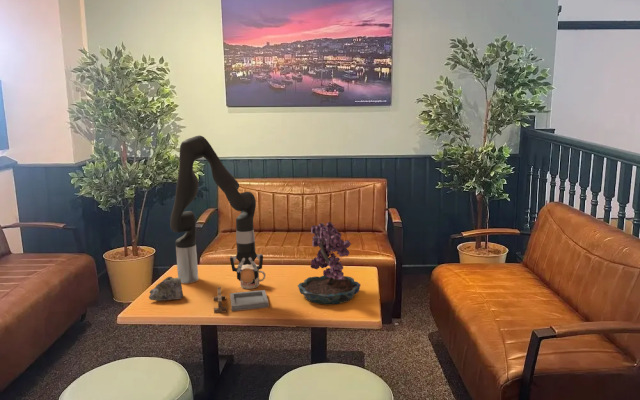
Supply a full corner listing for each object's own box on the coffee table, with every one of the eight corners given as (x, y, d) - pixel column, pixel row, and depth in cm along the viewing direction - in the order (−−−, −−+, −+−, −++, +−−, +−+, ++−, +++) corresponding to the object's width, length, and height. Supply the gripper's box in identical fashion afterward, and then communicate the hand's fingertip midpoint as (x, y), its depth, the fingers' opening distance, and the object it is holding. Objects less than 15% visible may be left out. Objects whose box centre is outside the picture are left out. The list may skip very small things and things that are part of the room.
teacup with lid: (237, 288, 246) (235, 264, 244) (243, 282, 255) (242, 258, 253) (263, 289, 244) (261, 264, 242) (268, 283, 253) (267, 258, 250)
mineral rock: (148, 303, 232) (146, 280, 230) (159, 294, 242) (157, 272, 240) (177, 304, 230) (175, 281, 228) (186, 294, 240) (185, 273, 238)
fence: (213, 298, 235) (213, 287, 234) (225, 297, 235) (224, 286, 234) (214, 313, 219) (213, 301, 218) (226, 311, 220) (226, 300, 219)
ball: (237, 282, 228) (236, 268, 227) (249, 278, 232) (249, 265, 231) (245, 285, 223) (244, 271, 222) (257, 282, 227) (257, 268, 226)
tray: (230, 297, 235) (230, 293, 235) (265, 294, 238) (264, 289, 238) (231, 311, 221) (231, 306, 221) (268, 307, 224) (268, 302, 223)
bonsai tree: (362, 309, 220) (361, 230, 213) (295, 309, 221) (292, 231, 214) (359, 279, 254) (358, 211, 248) (301, 280, 255) (298, 212, 249)
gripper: (228, 244, 219) (230, 284, 223) (263, 241, 222) (265, 281, 225) (227, 239, 227) (229, 278, 230) (262, 237, 229) (264, 275, 232)
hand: (247, 279), depth 227 cm, fingers closed on ball, 6 cm apart
